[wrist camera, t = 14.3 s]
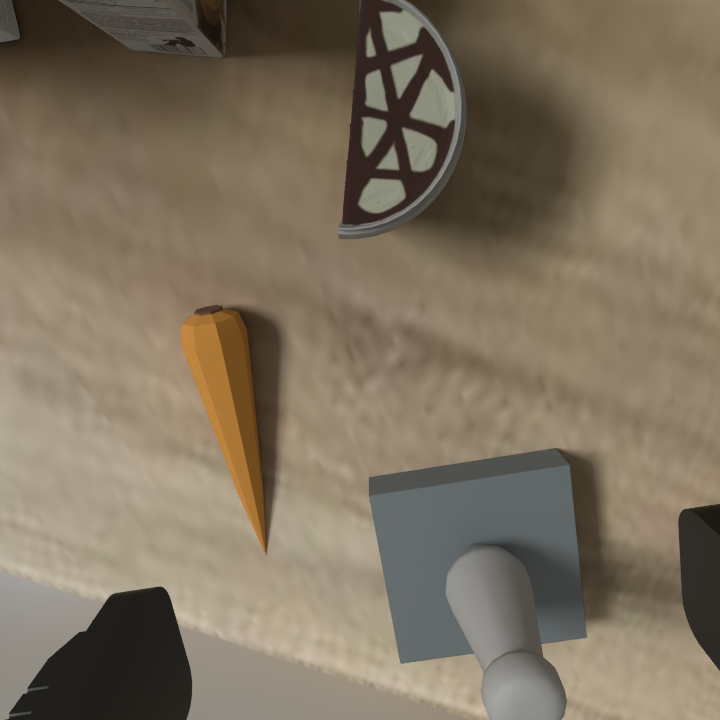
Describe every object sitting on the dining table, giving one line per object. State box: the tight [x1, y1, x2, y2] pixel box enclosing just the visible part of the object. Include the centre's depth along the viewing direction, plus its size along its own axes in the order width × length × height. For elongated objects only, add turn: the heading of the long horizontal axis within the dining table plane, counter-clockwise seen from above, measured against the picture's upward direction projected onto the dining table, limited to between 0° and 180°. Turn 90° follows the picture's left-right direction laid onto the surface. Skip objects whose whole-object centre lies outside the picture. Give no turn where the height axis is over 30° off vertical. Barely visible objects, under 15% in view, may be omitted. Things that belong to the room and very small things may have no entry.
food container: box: [338, 0, 467, 239], centre depth 34 cm, size 12×6×10 cm, turn 174°
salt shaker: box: [446, 544, 567, 720], centre depth 37 cm, size 6×6×13 cm
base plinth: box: [369, 448, 587, 664], centre depth 44 cm, size 14×14×3 cm
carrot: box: [182, 305, 266, 554], centre depth 43 cm, size 20×4×4 cm, turn 8°
